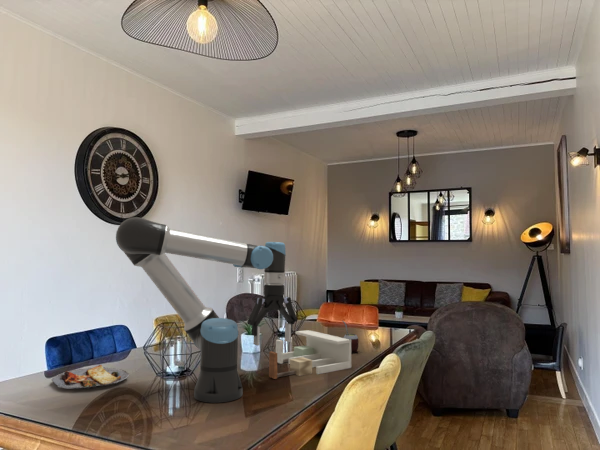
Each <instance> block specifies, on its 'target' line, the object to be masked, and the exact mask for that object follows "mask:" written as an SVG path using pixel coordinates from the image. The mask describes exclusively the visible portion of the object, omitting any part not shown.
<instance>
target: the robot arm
mask: <svg viewBox="0 0 600 450" xmlns="http://www.w3.org/2000/svg"><path fill="white" fill-rule="evenodd" d="M115 242H116V245H117V246H118V248H119V249H120V250H121V251H122V252H123V253H124V254H125V256H126V257H127V258H128V259H129V261H130V262H131V263H132V265H133V266H134V267H138V268H139V267H140V268H142V269H143V271H144V272H145V274H146V275H147V276H148V277H149V279H150V280H151V281H152V283H153V284H154V285H155V287H156V288H157V289H158V290H159V291H160V293H161V294H162V295H163V297H164V298H165V299H166V301H167V302H168V303H169V305H170V306H171V307H172V308H173V309H174V311H175V312H176V313H177V315H178V316H179V317H180V319H181V320H182V322H183V323H184V326H183V330H184V331H185V333H186V334H187V335H188V337H189V338H190V339H191V341H192V342H193V345H194V346H195V347H196V348H197V349H198V350H200V366H199V367H200V369H199V370H200V371H199V374H198V377H197V379H196V384H195V385H194V390H193V392H194V393H193V398H194V399H195V400H197V401H199V402H204V403H210V404H211V403H212V404H213V403H227V402H232V401H235V400H238V399H240V398H241V397H243V393H244V392H243V391H244V388H243V385H242V382H241V378H240V374H239V370H238V359H239V358H238V352H239V350H238V348H239V347H238V346H239V345H238V344H239V327H238V323H237V322H236V321H235V320H233V319H230V318H224V317H219V315H218V314H217V313H216V311H215V310H214V309H213V308H212V307H210V306H209V307H208V306H205V304H204V303H203V301H202V300H201V299H200V298H199V297H198V295H197V294H196V292H194V290H193V289H192V287H191V286H190V285H189V284H188V282H187V281H186V279H185V278H184V277H183V275H182V274H181V273H180V271H179V270H178V269H177V268H176V266H175V265H174V264H173V262H172V261H171V260H170V258H169V257H168V256H167V254H171V255H175V256H176V255H177V256H180V257H181V256H182V257H188V258H193V259H200V260H206V261H211V262H218V263H223V264H229V265H232V266H233V267H234V268H241V269H242V268H243V269H244V268H247V269H248V268H250V269H257V270H264V271H263V272H264V273H263V275H264V277H263V283H264V285H263V297H262V298H261V297H256V299H255V304H254V307H253V309H252V311H251V313H250V316H249V317H248V319H247V325H249V326H251V335H252V336H253V345H255V346H260V335H261V333H260V331H261V326H259V325H260V323H261V322H262V320H263V319H264V318H265V316H266V315H267V314H268V313H269V312H270V311H274V310H275V311H279V312H280V314H281V316H282V317H283V319H284V320H285V321H286V322H285V323H284V324H285V325H284V331H285V332H284V341H285V342H287V343H291V340H292V332H293V325H294V324H295V323H296V322H298V318H297V315H296V312H295V310H294V307H293V304H292V298H291V297H290V296H285V285H284V284H285V279H286V276H285V275H286V274H285V273H286V272H285V271H286V270H285V269H286V256H287V255H286V252H287V251H286V244H285V243H284V242H283V241H282V242H279V241H266V242H265V244H264V245H257V244H250V243H245V242H241V241H236V240H235V241H234V240H231V239H230V240H229V239H225V238H219V237H215V236H208V235H205V234H204V235H203V234H199V233H193V232H188V231H182V230H177V229H171V228H169V226H168V225H167V224H163V223H159V222H155V221H152V220H149V219H146V218H143V217H137V216H135V217H130V218H127V219H125V220H123V221H122V222H121V223H120V225H118V228H117V230H116V233H115ZM284 296H285V297H284ZM284 304H285V306H284Z"/></svg>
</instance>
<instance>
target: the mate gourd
mask: <svg viewBox="0 0 600 450" xmlns="http://www.w3.org/2000/svg"><path fill="white" fill-rule="evenodd" d="M342 323H343V324H344V326H345V331H346V334H344V336H343V338H346V339H350V340H351V355H352V354H358V352H359V337H358V335H357V334H354V333H349V330H348V325H347V324H346V322H345V321H344V320H342Z"/></svg>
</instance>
